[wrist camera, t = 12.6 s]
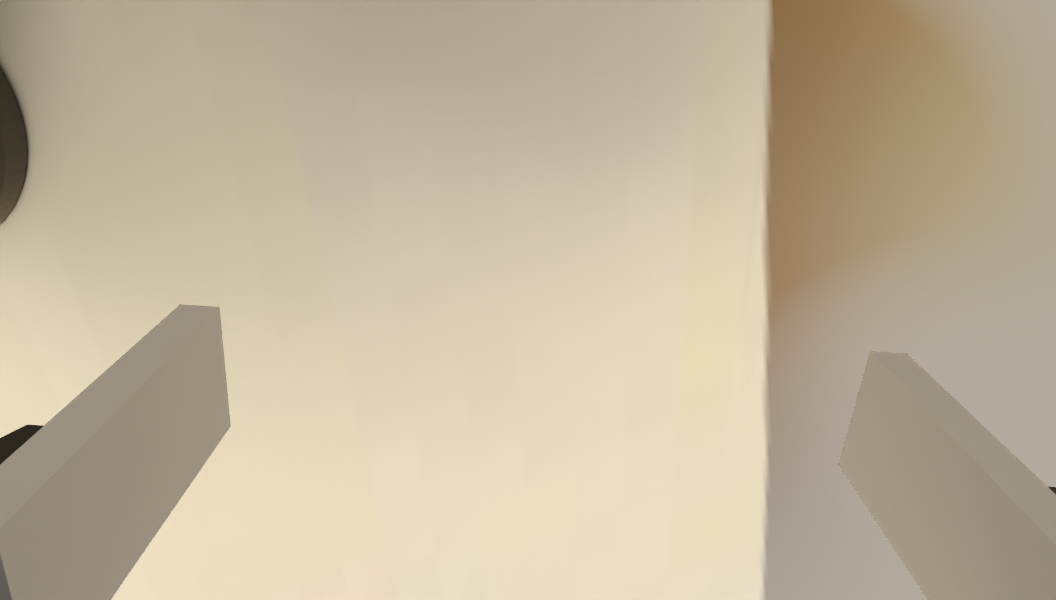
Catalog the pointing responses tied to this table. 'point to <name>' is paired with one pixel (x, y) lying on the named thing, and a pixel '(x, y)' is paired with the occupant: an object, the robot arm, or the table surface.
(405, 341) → the table surface
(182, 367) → the robot arm
